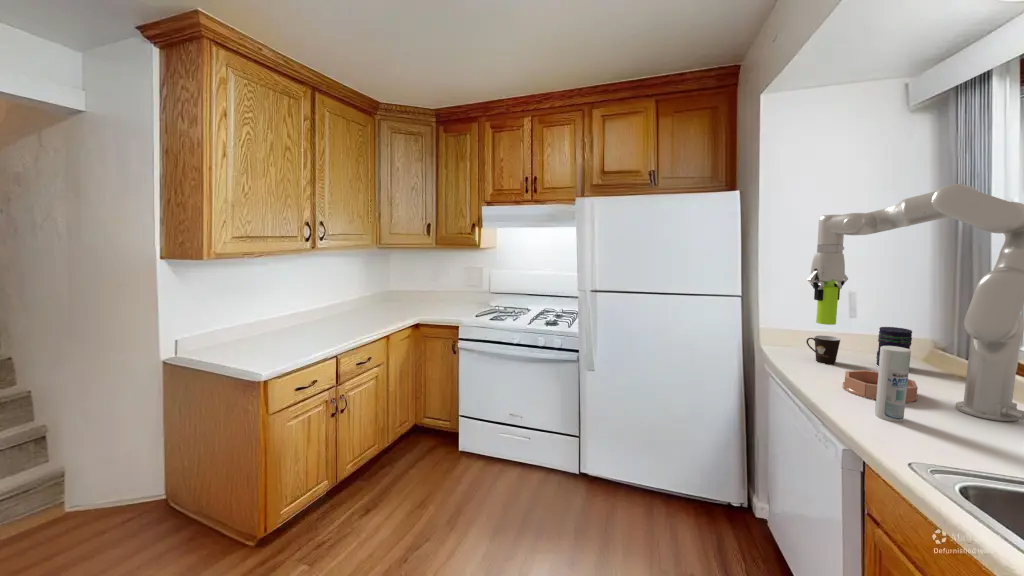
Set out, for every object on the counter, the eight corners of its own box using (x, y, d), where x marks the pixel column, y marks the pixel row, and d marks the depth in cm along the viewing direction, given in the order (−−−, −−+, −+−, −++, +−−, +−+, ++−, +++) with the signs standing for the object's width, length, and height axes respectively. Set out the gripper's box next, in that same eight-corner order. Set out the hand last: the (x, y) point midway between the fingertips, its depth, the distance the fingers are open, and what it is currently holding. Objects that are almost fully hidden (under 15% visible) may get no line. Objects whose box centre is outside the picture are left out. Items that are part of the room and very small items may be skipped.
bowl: (933, 400, 140) (935, 386, 140) (880, 404, 137) (881, 390, 137) (876, 381, 159) (877, 368, 158) (828, 384, 156) (829, 371, 155)
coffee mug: (843, 365, 178) (845, 340, 177) (821, 365, 178) (823, 340, 177) (824, 357, 190) (825, 333, 189) (803, 357, 190) (805, 333, 189)
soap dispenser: (828, 321, 167) (831, 267, 165) (839, 324, 160) (843, 268, 158) (811, 321, 167) (814, 267, 165) (822, 324, 161) (825, 268, 158)
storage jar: (870, 365, 178) (873, 328, 176) (884, 362, 182) (887, 325, 180) (900, 372, 169) (904, 333, 167) (914, 368, 173) (918, 330, 171)
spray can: (890, 412, 131) (896, 345, 129) (910, 421, 125) (917, 351, 123) (868, 413, 131) (874, 345, 129) (887, 422, 125) (894, 351, 122)
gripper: (842, 249, 166) (838, 297, 168) (799, 249, 163) (797, 299, 165) (860, 249, 158) (856, 300, 160) (816, 250, 156) (813, 302, 158)
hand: (826, 299), depth 163 cm, fingers closed on soap dispenser, 5 cm apart
